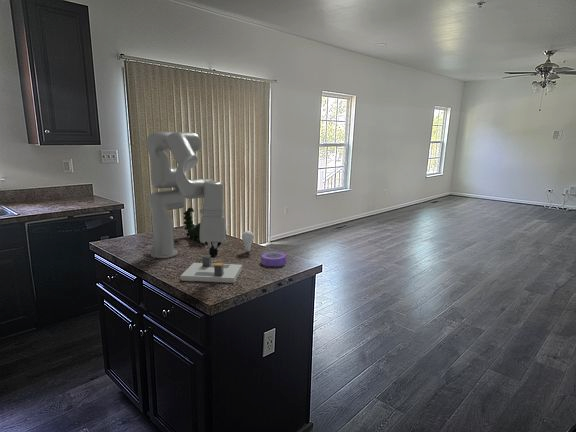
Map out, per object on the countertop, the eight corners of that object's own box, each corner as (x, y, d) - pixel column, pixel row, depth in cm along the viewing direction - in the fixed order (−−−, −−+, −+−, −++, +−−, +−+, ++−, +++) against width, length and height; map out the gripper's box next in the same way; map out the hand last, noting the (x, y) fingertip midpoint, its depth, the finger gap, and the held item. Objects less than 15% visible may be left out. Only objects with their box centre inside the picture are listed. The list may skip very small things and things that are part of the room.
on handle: (202, 265, 157) (202, 257, 156) (204, 263, 160) (204, 255, 159) (209, 266, 157) (209, 257, 156) (211, 263, 160) (211, 255, 159)
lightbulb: (242, 249, 189) (242, 229, 186) (254, 249, 189) (253, 229, 187) (241, 253, 183) (241, 232, 180) (253, 253, 183) (253, 232, 181)
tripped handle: (214, 275, 147) (214, 265, 146) (216, 272, 150) (216, 262, 149) (221, 275, 147) (221, 265, 146) (223, 272, 150) (223, 262, 149)
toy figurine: (181, 240, 211) (204, 245, 194) (178, 208, 209) (201, 210, 191) (195, 237, 218) (219, 242, 200) (192, 206, 215) (216, 208, 197)
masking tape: (256, 263, 170) (256, 255, 169) (272, 257, 178) (272, 249, 178) (274, 269, 162) (274, 260, 162) (291, 262, 171) (291, 255, 170)
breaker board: (180, 280, 147) (180, 275, 146) (193, 266, 162) (193, 262, 162) (234, 282, 145) (234, 277, 145) (242, 268, 161) (242, 264, 161)
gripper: (191, 214, 140) (192, 258, 144) (229, 216, 139) (229, 261, 143) (197, 209, 147) (198, 252, 152) (234, 212, 146) (233, 254, 151)
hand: (213, 256), depth 147 cm, fingers closed
